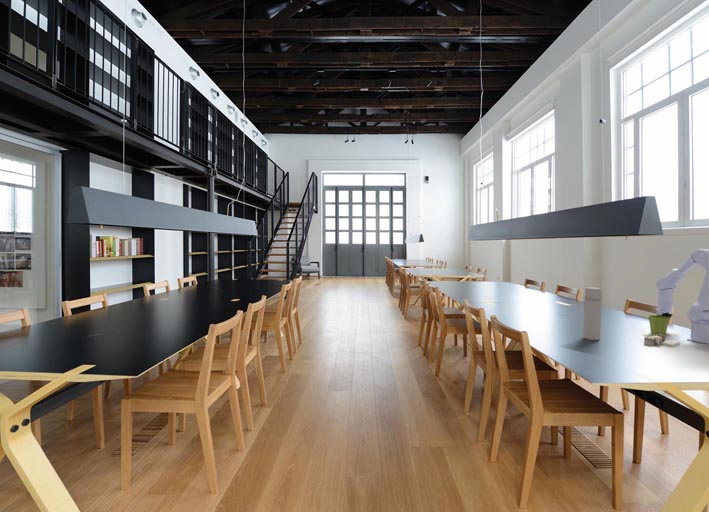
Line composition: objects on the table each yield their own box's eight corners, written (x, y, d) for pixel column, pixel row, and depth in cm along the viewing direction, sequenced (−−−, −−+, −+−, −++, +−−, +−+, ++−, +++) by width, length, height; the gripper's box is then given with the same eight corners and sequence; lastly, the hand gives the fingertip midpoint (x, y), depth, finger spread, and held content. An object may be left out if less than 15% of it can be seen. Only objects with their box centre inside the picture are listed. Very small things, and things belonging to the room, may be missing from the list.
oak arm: (659, 341, 187) (659, 333, 186) (666, 342, 184) (666, 335, 184) (644, 343, 182) (644, 336, 182) (651, 345, 179) (651, 337, 179)
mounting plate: (679, 344, 182) (679, 341, 182) (672, 346, 177) (672, 344, 177) (668, 341, 185) (668, 339, 185) (661, 344, 181) (661, 342, 181)
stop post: (660, 345, 180) (660, 337, 179) (658, 345, 179) (658, 338, 179) (655, 344, 181) (656, 336, 181) (654, 344, 180) (654, 337, 180)
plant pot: (642, 332, 204) (643, 316, 203) (653, 330, 208) (653, 314, 207) (663, 336, 195) (664, 319, 195) (673, 334, 199) (674, 317, 199)
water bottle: (603, 341, 186) (605, 289, 185) (585, 340, 188) (587, 288, 186) (595, 336, 195) (597, 286, 194) (578, 335, 197) (580, 286, 195)
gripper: (662, 299, 211) (661, 324, 212) (649, 301, 204) (648, 327, 204) (678, 301, 205) (677, 326, 206) (666, 303, 198) (665, 330, 198)
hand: (664, 327), depth 205 cm, fingers closed
